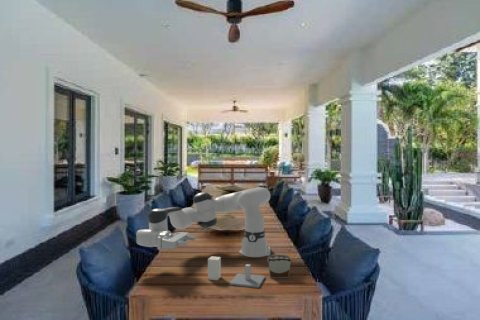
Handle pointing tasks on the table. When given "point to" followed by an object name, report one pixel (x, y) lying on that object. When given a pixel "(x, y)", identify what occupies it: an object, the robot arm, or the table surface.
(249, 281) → the post stand
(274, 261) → the food container
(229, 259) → the table surface
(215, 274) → the tall white pillar
